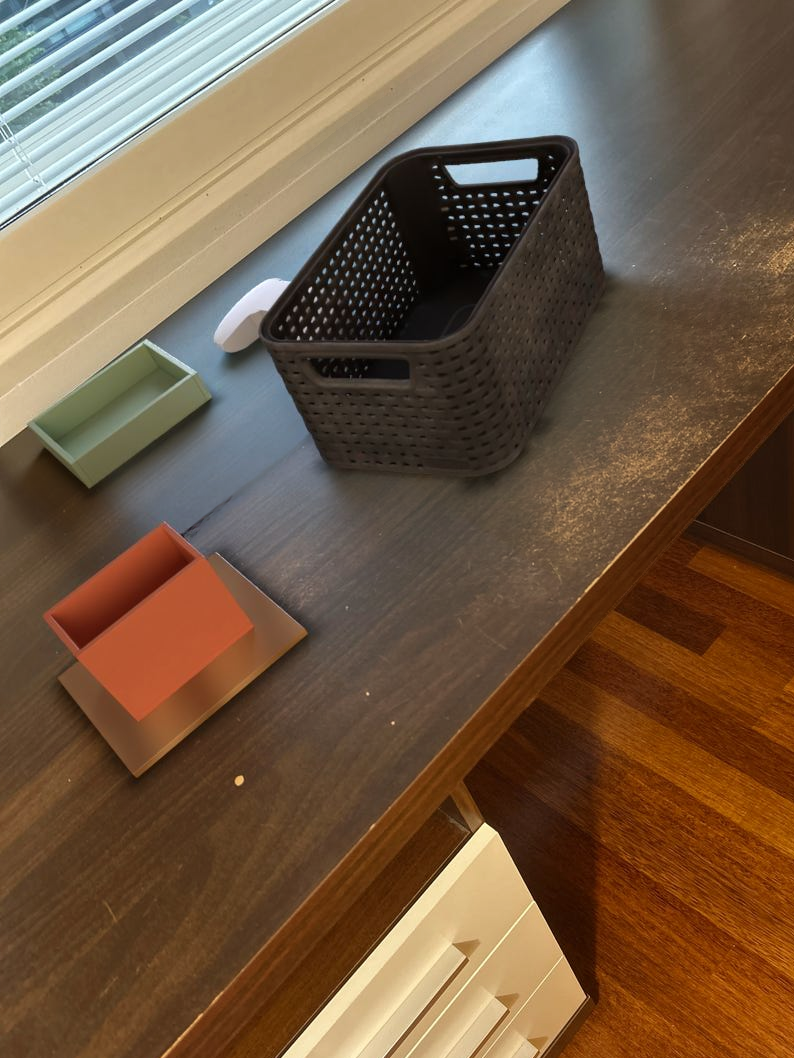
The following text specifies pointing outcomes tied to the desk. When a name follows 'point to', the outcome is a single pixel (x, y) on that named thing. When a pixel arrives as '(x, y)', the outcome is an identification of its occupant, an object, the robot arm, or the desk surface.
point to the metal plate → (200, 693)
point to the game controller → (255, 316)
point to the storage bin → (441, 311)
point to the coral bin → (149, 620)
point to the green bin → (119, 411)
